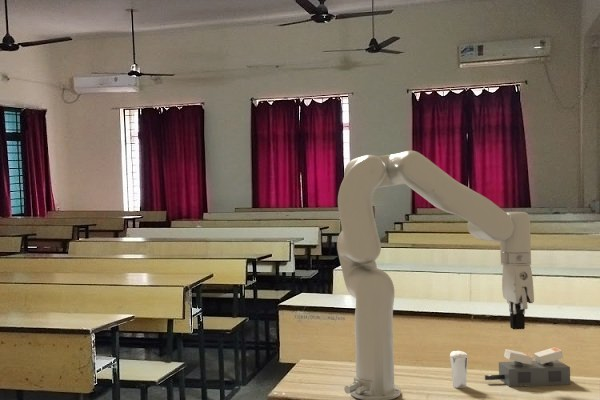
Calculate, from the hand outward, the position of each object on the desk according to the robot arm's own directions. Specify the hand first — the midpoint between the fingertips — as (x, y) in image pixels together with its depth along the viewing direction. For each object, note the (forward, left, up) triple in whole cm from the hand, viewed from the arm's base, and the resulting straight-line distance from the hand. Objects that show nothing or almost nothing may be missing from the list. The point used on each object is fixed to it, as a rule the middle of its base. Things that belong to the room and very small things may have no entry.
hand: (517, 328), depth 157 cm
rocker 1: (0, 0, -7) cm, 7 cm away
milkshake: (-13, +9, -14) cm, 21 cm away
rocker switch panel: (+1, -1, -14) cm, 14 cm away
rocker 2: (+6, -5, -7) cm, 11 cm away
